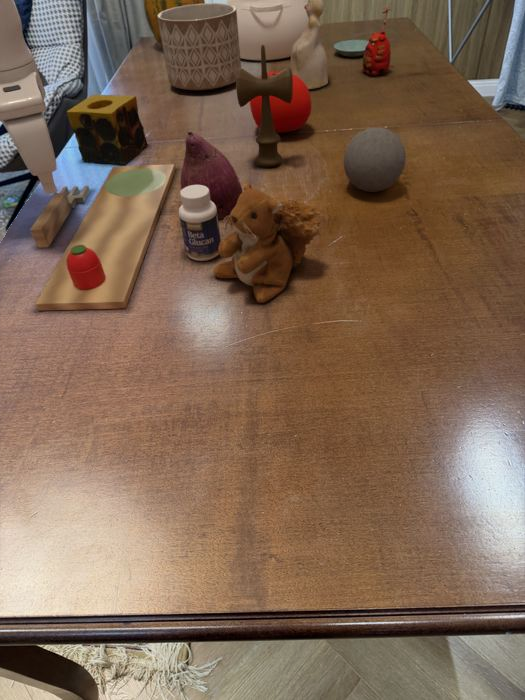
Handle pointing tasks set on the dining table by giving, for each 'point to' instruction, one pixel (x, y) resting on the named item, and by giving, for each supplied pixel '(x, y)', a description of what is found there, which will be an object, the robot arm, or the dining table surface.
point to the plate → (135, 174)
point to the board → (110, 245)
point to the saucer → (351, 47)
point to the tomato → (286, 107)
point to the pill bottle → (199, 223)
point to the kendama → (265, 106)
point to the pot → (269, 27)
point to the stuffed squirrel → (266, 241)
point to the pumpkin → (157, 3)
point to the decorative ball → (374, 159)
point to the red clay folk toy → (377, 52)
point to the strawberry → (85, 268)
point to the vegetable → (210, 173)
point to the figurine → (311, 51)
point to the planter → (200, 45)
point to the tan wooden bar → (56, 214)
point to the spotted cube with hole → (108, 128)
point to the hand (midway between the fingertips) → (45, 180)
